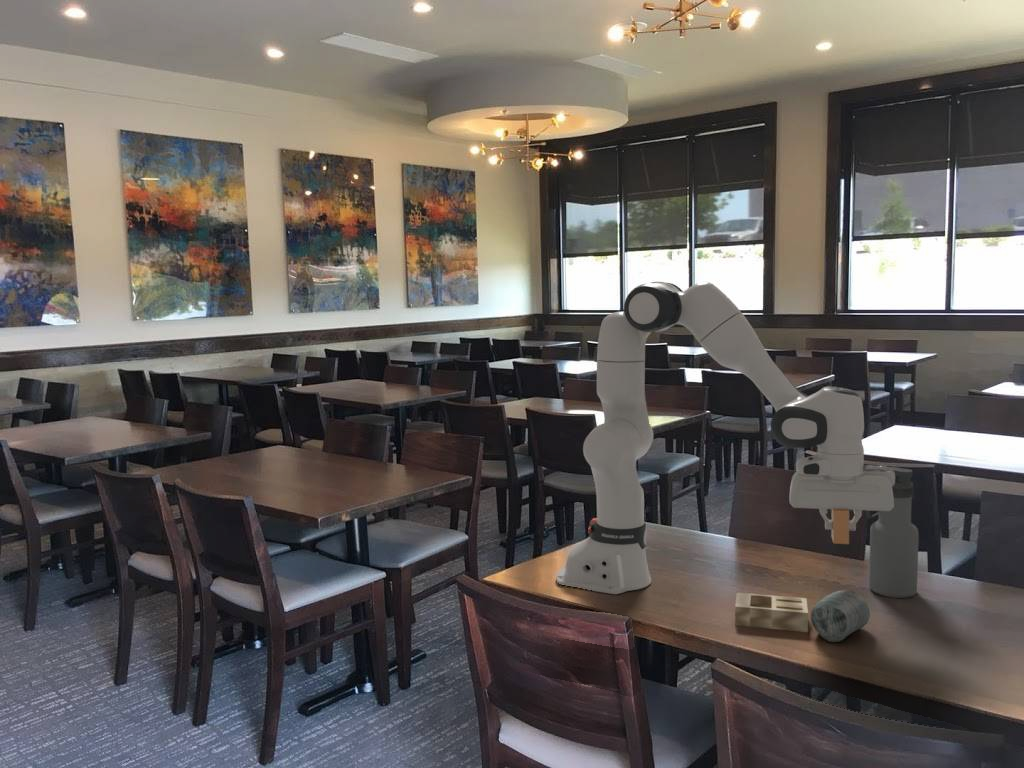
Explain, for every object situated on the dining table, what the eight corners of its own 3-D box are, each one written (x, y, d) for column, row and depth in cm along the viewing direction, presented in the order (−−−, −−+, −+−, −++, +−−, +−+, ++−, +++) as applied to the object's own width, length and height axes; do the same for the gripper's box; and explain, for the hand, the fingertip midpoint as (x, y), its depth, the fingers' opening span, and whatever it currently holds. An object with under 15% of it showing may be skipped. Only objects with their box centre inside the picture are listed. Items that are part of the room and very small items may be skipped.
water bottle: (859, 590, 182) (861, 468, 179) (879, 579, 189) (882, 462, 186) (904, 602, 175) (908, 476, 172) (924, 591, 181) (928, 468, 178)
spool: (848, 638, 150) (834, 584, 154) (805, 646, 157) (793, 594, 161) (888, 637, 158) (874, 585, 162) (846, 644, 165) (833, 595, 169)
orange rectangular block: (833, 543, 167) (833, 510, 167) (831, 536, 172) (831, 504, 171) (849, 544, 166) (849, 511, 166) (846, 537, 171) (846, 504, 170)
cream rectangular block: (735, 625, 165) (735, 605, 165) (736, 610, 173) (736, 591, 172) (807, 632, 161) (808, 611, 160) (806, 616, 168) (806, 596, 168)
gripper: (892, 462, 168) (892, 527, 169) (789, 460, 174) (789, 523, 175) (897, 469, 162) (896, 536, 163) (790, 466, 168) (790, 531, 169)
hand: (840, 529), depth 169 cm, fingers closed on orange rectangular block, 3 cm apart
